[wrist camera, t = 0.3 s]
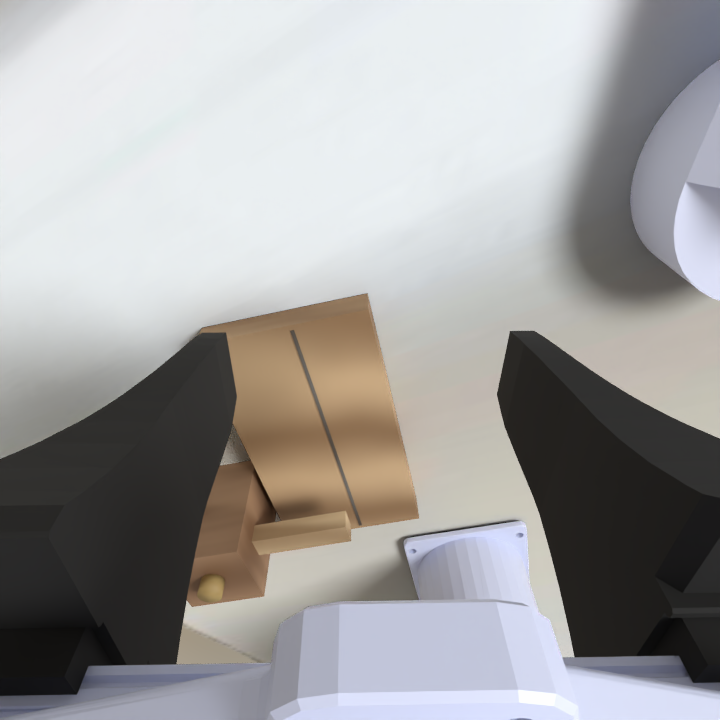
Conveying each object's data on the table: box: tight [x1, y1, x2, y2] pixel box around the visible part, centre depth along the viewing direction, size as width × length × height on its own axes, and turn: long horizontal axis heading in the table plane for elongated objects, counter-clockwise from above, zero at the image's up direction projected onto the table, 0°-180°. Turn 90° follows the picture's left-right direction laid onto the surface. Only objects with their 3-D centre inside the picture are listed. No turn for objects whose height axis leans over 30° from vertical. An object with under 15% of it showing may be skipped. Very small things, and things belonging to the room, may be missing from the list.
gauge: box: [187, 461, 351, 607], centre depth 27 cm, size 4×9×7 cm, turn 103°
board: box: [199, 294, 419, 529], centre depth 26 cm, size 14×8×2 cm, turn 12°
